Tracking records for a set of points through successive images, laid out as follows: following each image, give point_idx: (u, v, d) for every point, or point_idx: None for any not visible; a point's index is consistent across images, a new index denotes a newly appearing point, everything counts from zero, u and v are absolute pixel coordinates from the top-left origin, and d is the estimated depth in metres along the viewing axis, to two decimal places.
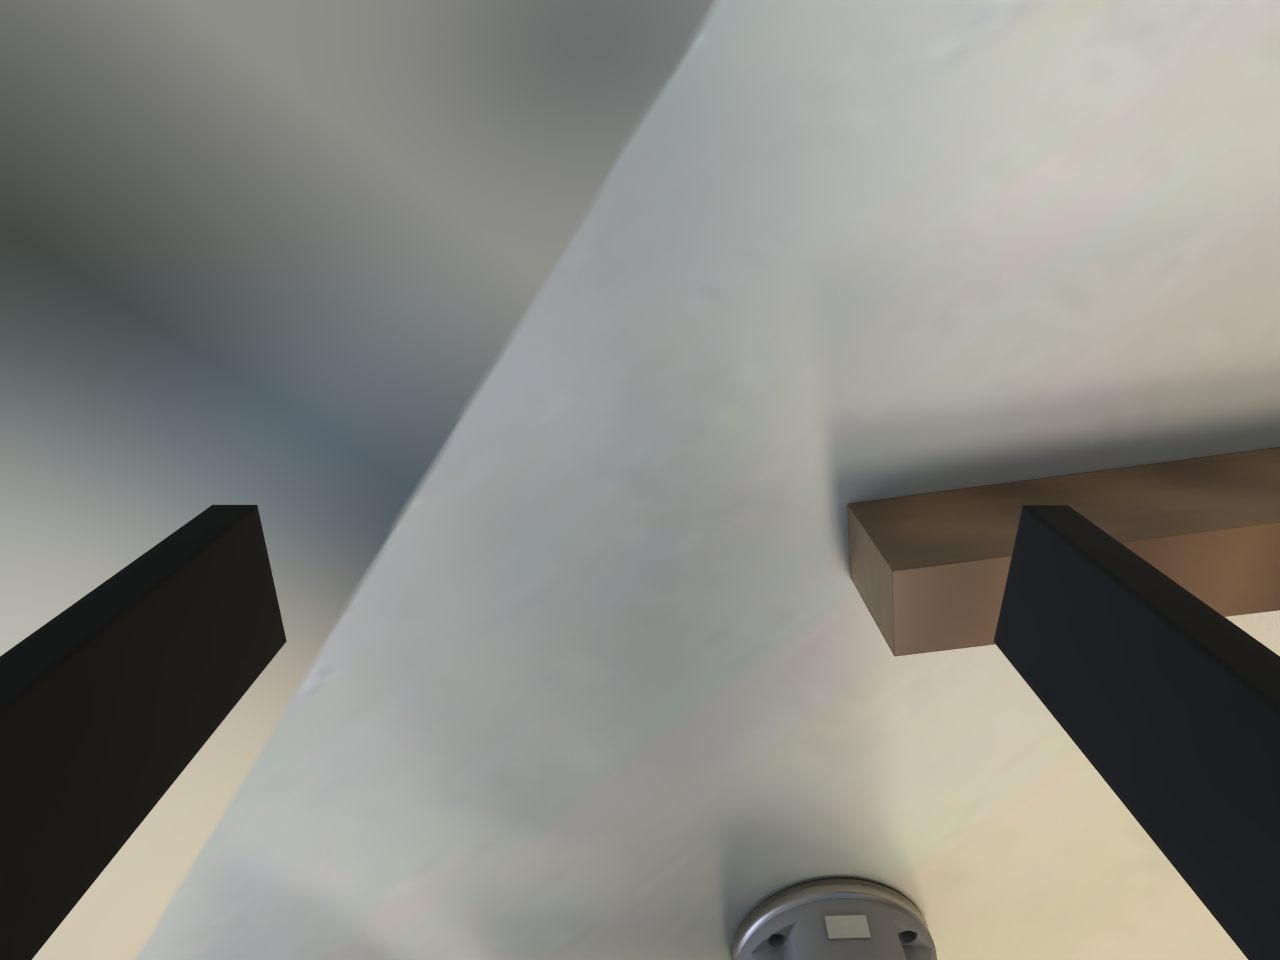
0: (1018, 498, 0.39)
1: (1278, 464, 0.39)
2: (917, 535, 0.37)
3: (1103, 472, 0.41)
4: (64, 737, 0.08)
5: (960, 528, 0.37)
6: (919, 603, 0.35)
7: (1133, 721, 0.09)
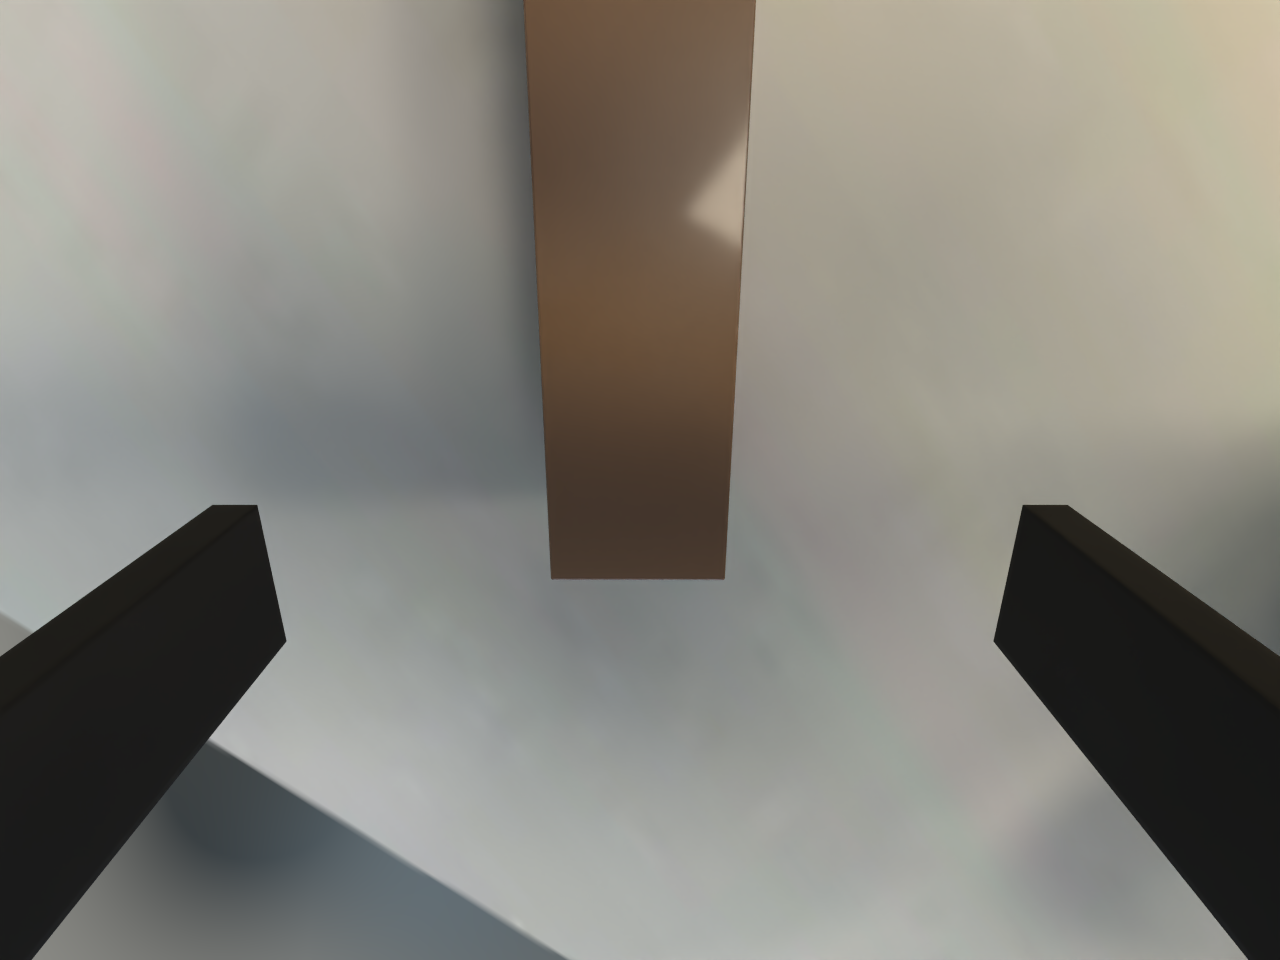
0: None
1: None
2: None
3: None
4: (65, 737, 0.08)
5: None
6: (621, 539, 0.20)
7: (1133, 721, 0.09)
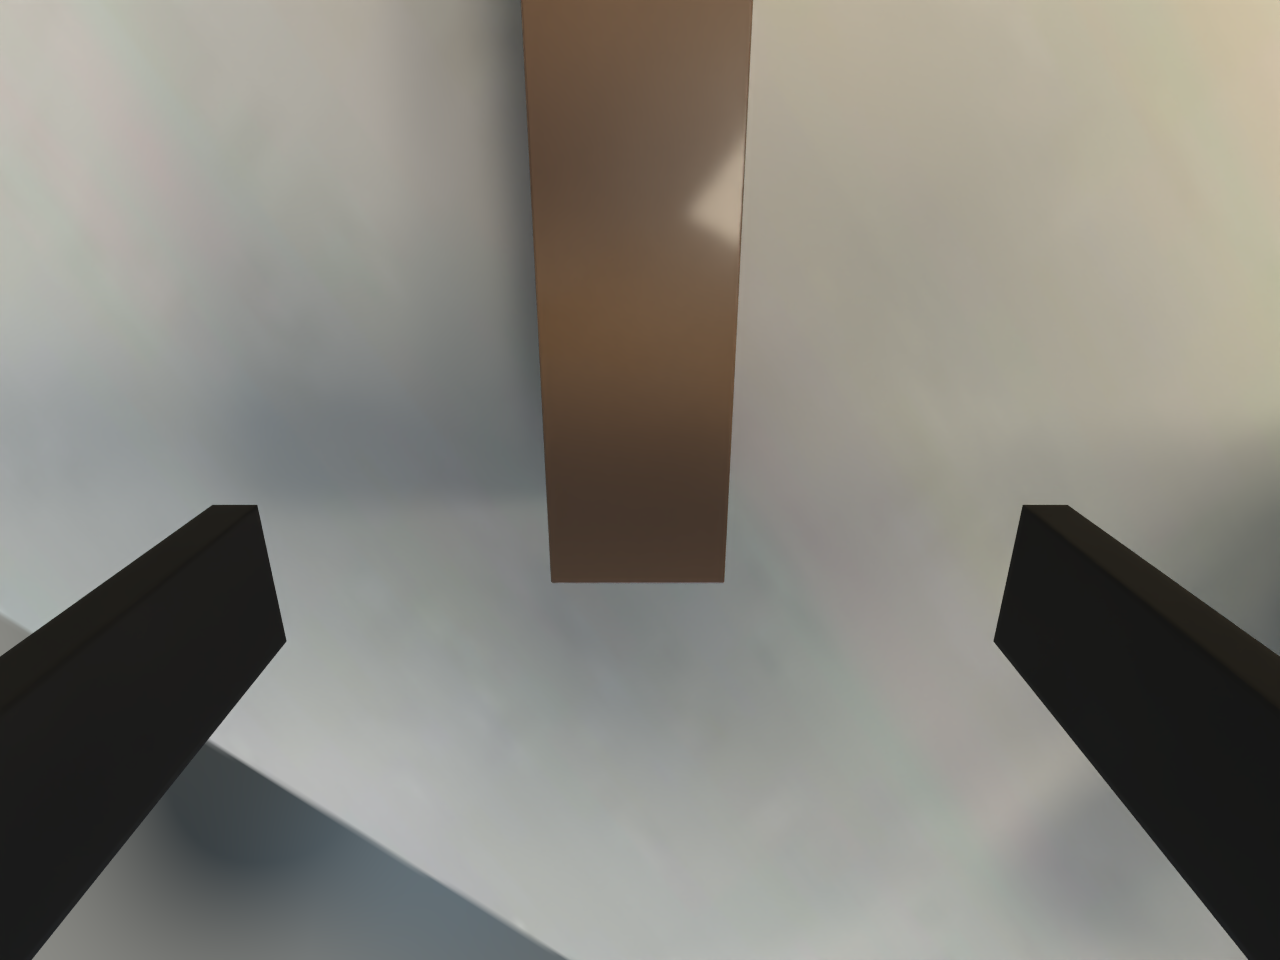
0: None
1: None
2: None
3: None
4: (65, 737, 0.08)
5: None
6: (620, 543, 0.20)
7: (1133, 721, 0.09)
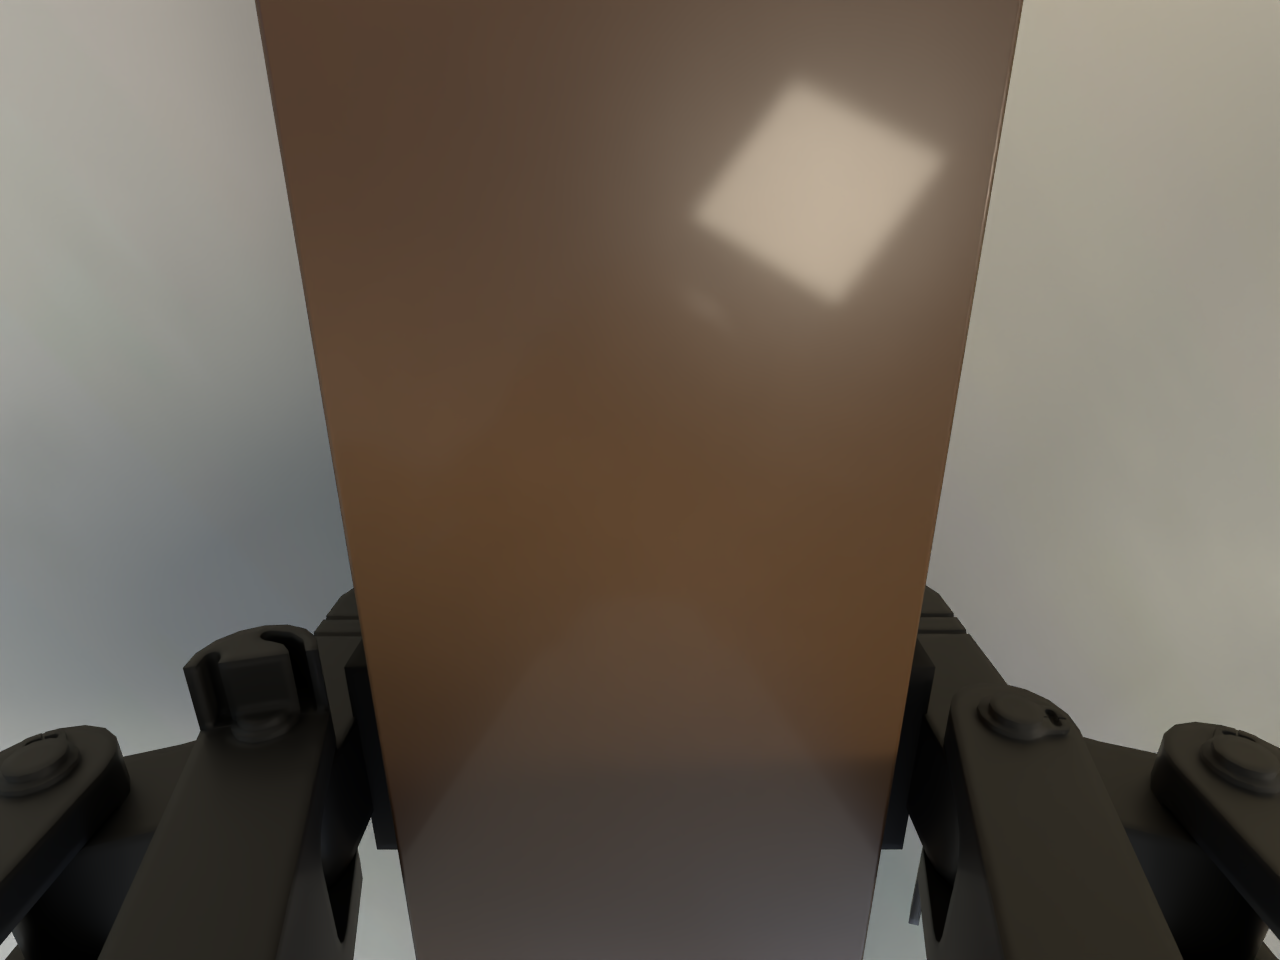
0: None
1: None
2: None
3: None
4: None
5: None
6: None
7: None
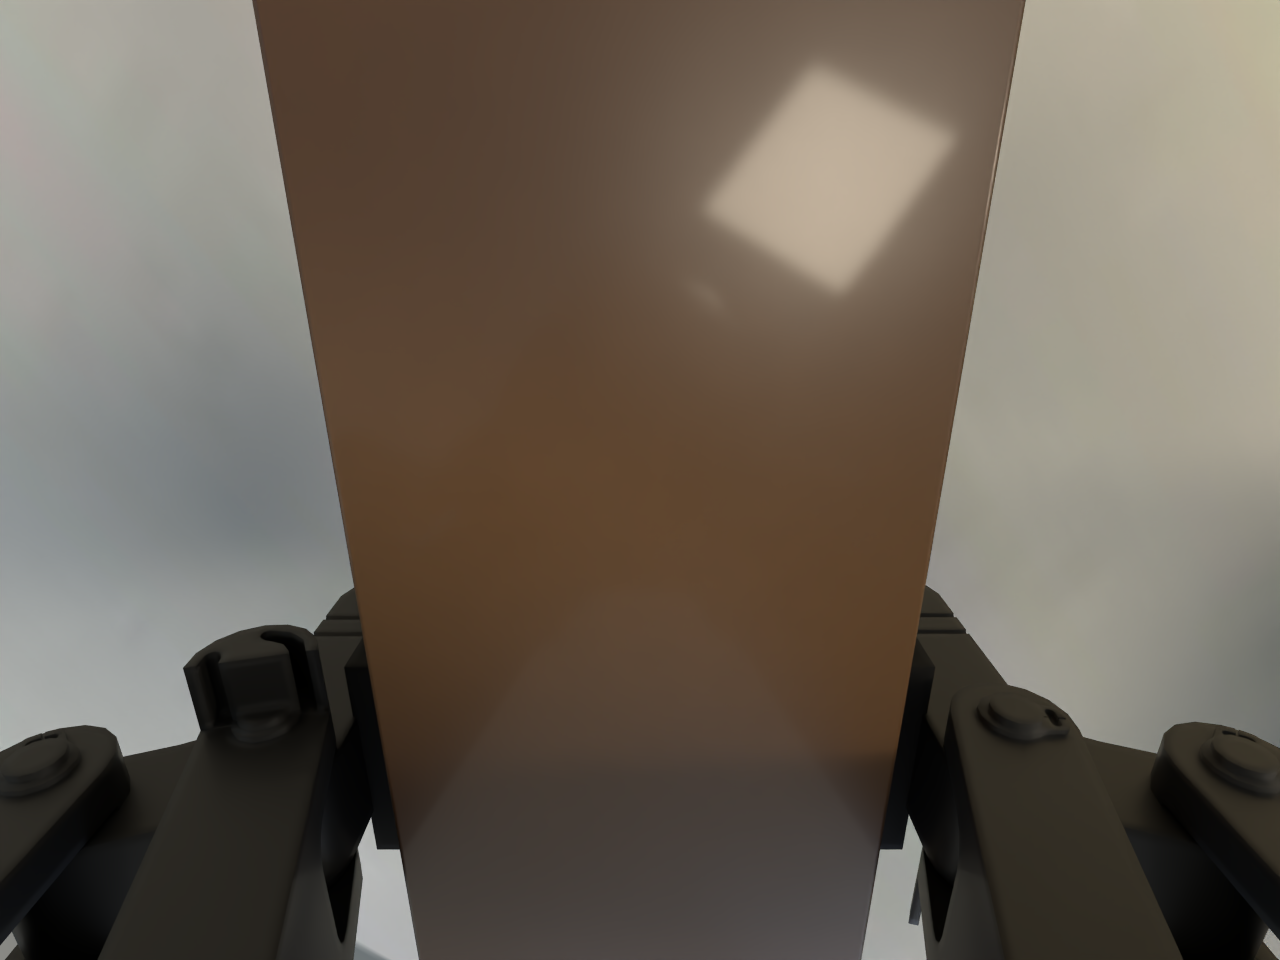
0: None
1: None
2: None
3: None
4: None
5: None
6: None
7: None
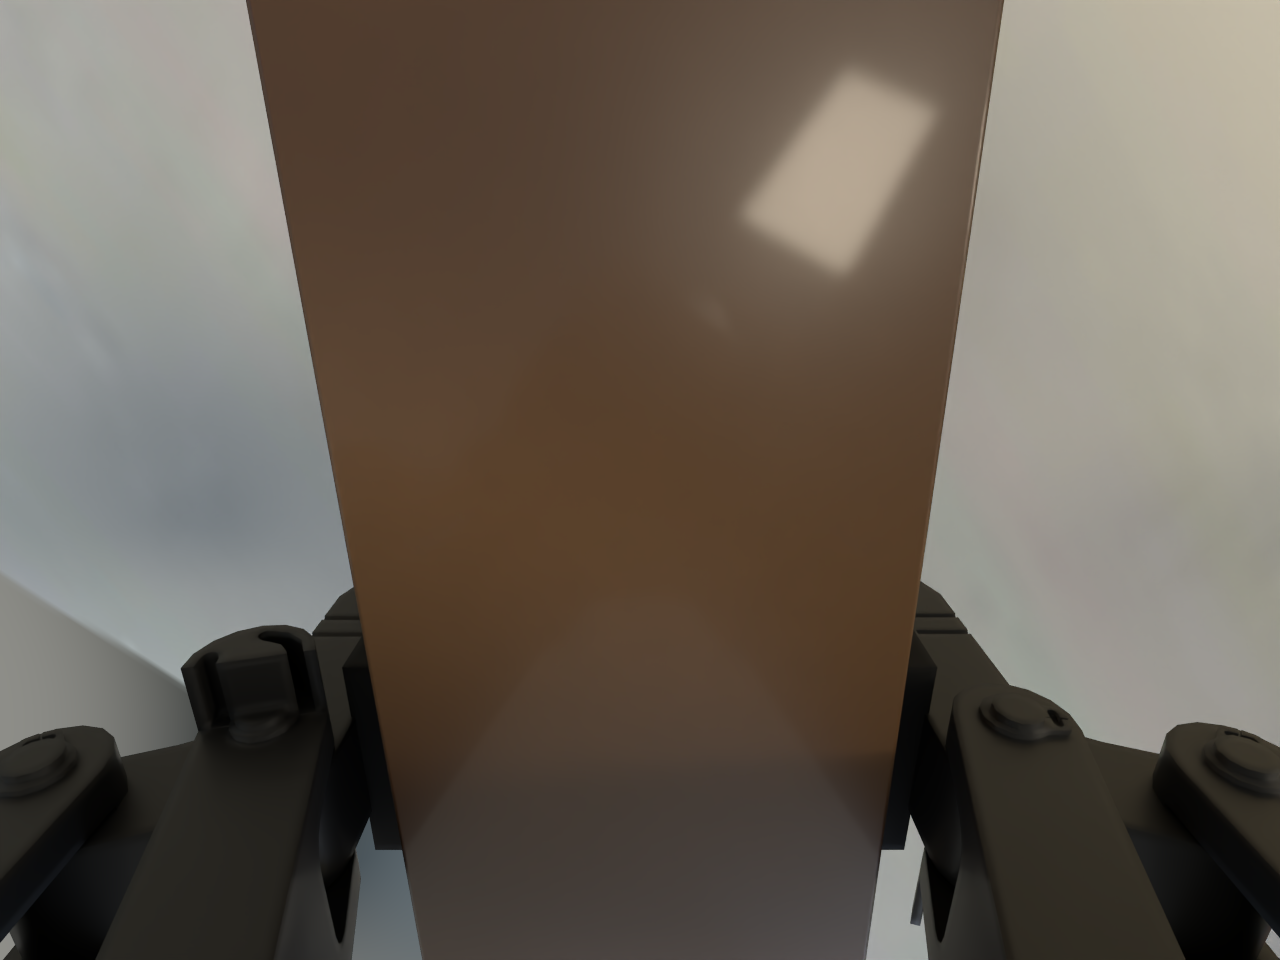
0: None
1: None
2: None
3: None
4: None
5: None
6: None
7: None
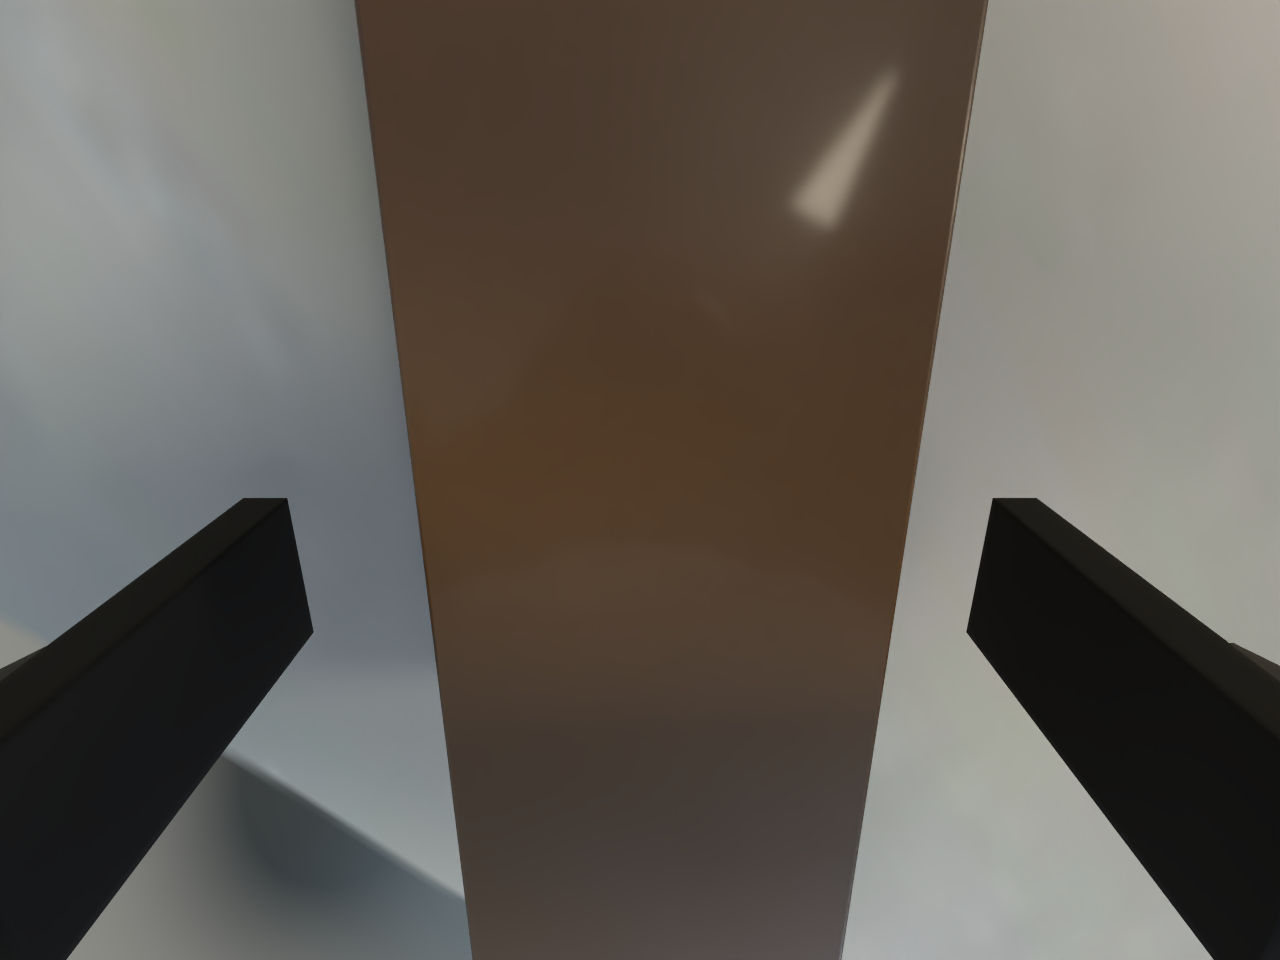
0: None
1: None
2: None
3: None
4: (115, 719, 0.08)
5: None
6: (621, 925, 0.09)
7: (1091, 706, 0.10)
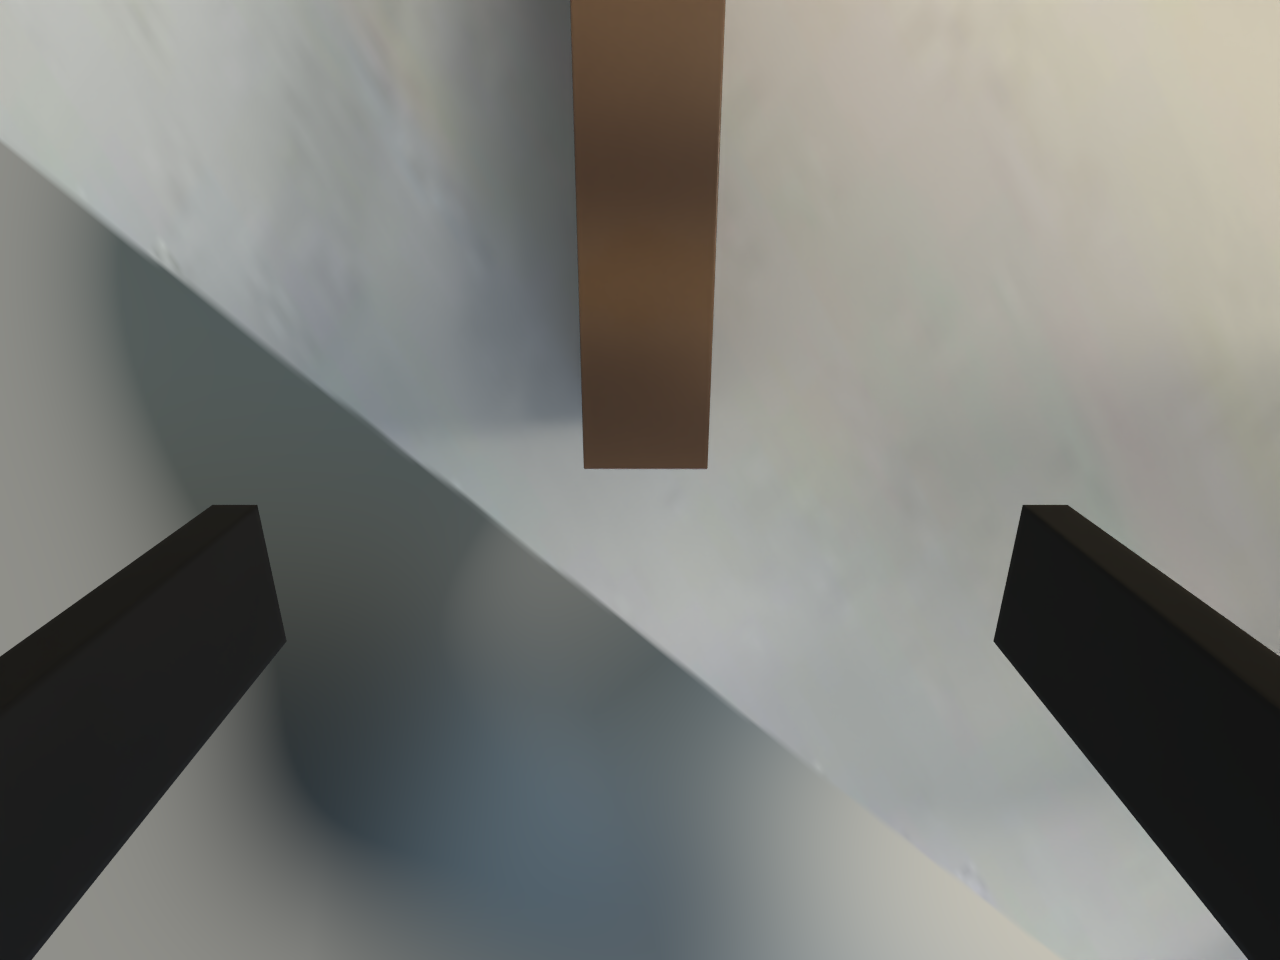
0: None
1: None
2: None
3: None
4: (64, 737, 0.08)
5: None
6: (633, 438, 0.28)
7: (1133, 721, 0.09)
